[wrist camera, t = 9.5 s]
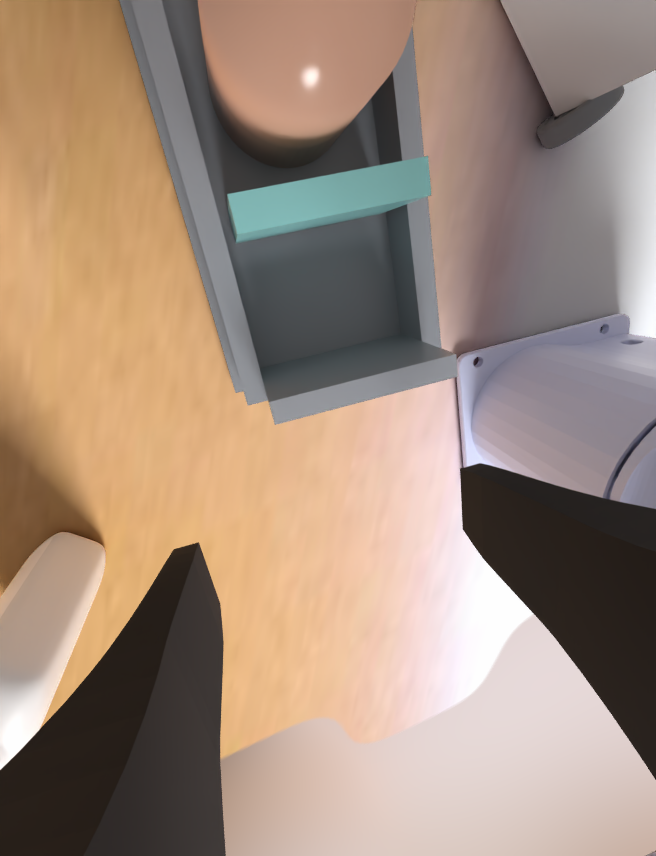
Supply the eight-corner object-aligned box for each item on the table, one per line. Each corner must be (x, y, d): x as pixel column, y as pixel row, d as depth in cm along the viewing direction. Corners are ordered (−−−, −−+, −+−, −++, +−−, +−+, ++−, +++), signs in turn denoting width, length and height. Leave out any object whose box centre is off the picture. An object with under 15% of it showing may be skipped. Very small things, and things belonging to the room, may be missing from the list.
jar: (336, -16, 14) (404, -198, 9) (359, 156, 16) (426, 97, 11) (187, 1, 13) (157, -184, 8) (229, 179, 15) (229, 128, 10)
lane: (349, -331, 12) (439, -787, 7) (421, 341, 20) (490, 367, 15) (26, -320, 11) (-159, -853, 6) (235, 388, 19) (237, 434, 14)
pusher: (376, 185, 16) (427, 156, 12) (380, 213, 17) (431, 195, 12) (228, 214, 15) (227, 194, 11) (235, 243, 16) (237, 234, 12)
